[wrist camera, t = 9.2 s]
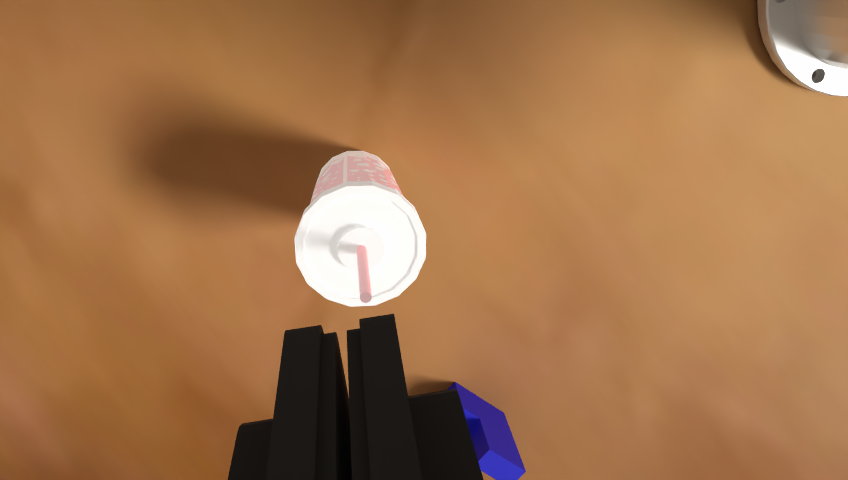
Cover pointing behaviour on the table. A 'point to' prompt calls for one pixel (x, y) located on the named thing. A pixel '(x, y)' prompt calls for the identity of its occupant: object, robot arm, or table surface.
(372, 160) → the beverage cup
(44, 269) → the table surface
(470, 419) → the cable clip
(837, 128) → the table surface
